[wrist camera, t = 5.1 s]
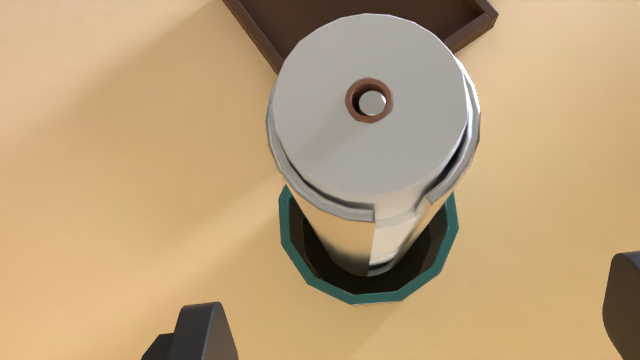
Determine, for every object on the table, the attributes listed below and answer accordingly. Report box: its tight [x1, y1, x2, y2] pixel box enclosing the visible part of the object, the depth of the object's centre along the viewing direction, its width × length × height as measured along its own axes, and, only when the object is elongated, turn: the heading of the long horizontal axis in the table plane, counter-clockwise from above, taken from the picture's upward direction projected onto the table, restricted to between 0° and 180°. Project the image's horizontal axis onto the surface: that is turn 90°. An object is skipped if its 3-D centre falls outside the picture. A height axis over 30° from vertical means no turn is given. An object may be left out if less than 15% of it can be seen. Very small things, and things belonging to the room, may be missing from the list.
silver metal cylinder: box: [266, 14, 481, 276], centre depth 27 cm, size 6×6×25 cm
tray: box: [222, 0, 499, 75], centre depth 42 cm, size 17×17×2 cm
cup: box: [278, 184, 459, 307], centre depth 35 cm, size 11×11×8 cm
